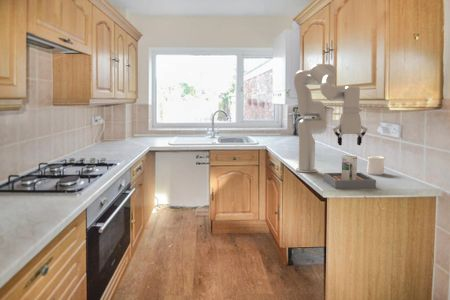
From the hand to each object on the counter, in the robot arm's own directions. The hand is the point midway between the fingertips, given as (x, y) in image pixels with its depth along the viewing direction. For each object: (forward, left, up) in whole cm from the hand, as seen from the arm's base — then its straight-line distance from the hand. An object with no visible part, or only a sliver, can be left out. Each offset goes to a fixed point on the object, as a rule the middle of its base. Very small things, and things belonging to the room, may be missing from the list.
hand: (349, 144), depth 208 cm
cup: (-28, +25, -20) cm, 43 cm away
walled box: (0, 0, -20) cm, 20 cm away
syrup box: (0, 0, -20) cm, 20 cm away
